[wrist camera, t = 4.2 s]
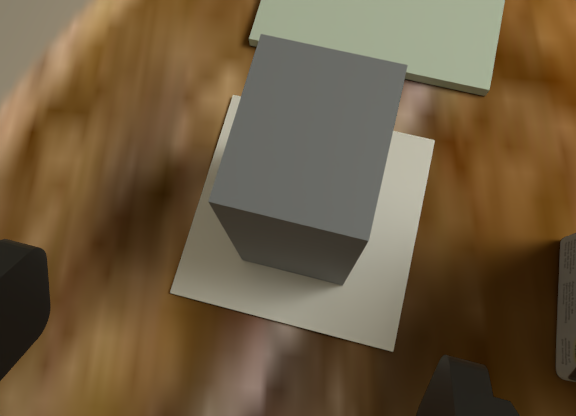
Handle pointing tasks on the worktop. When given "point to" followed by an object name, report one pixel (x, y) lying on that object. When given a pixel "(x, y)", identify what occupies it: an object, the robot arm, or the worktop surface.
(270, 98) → the charcoal block
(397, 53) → the sage pad
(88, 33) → the worktop surface
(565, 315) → the coffee box
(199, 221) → the cream tile
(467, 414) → the robot arm
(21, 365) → the worktop surface
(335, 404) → the worktop surface
